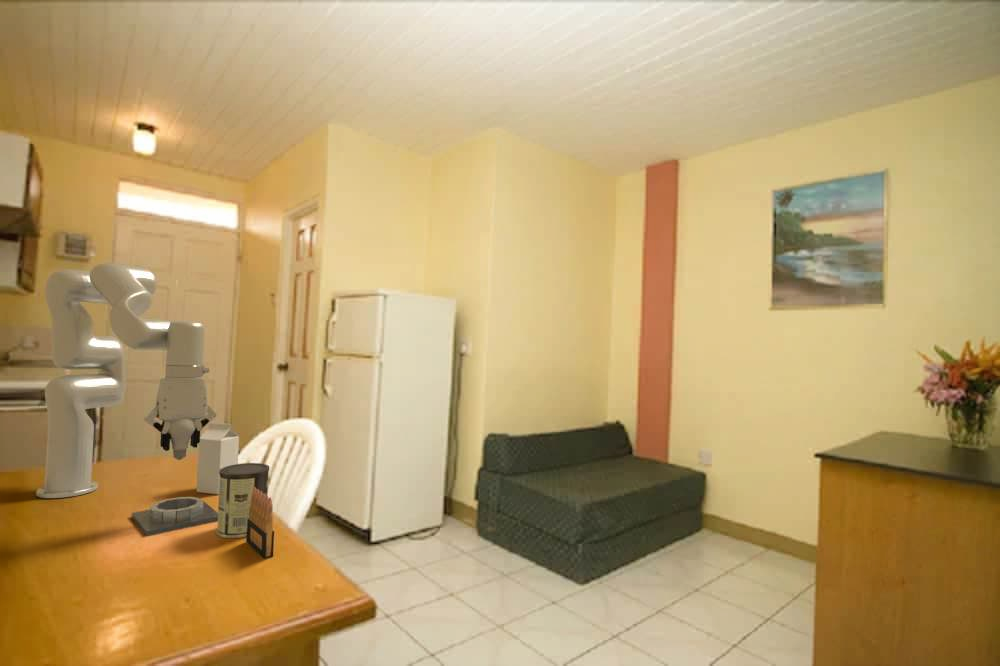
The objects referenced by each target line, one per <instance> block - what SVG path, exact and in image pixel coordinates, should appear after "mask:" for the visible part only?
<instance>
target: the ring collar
mask: <svg viewBox="0 0 1000 666" xmlns="http://www.w3.org/2000/svg"><path fill="white" fill-rule="evenodd" d="M131 519H132V520H133V522H135V524H136V525H137V526H138V528H139V530H141V531H142V533H143V534H144V536H145V537H148V536H154V535H158V534H163V533H168V532H172V531H177V530H182V529H185V528H191V527H195V526H196V527H197V526H201V525H204V524H205V525H206V524H210V523H214V522H218V511H216V509H214V508H213V507H211V506H210V505H209V504H208V503H206V502H205V501H204V500H203V499H201V497H196V496H195V497H194V496H179V497H172V498H166V499H163V500H160V501H157V502H154V503H153V504H152V505H150V506H149V509H146V510H141V511H136V512H132V513H131Z"/></svg>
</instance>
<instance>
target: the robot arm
mask: <svg viewBox="0 0 1000 666" xmlns="http://www.w3.org/2000/svg"><path fill="white" fill-rule="evenodd" d="M157 283H158V281H157V279H156V275H154V273H153V272H152V271H151V270H150V269H147V268H145V267H142V266H136V265H129V264H122V263H117V262H104V263H103V262H102V263H99V264H97V265H95V266H93V268H92V269H91V270H89V271H88V270H80V269H60V270H56V271H54V272H52V273H51V274H50V275H49V276H48V278H47V279H46V282H45V286H44V296H45V297H44V298H45V302H46V305H47V307H48V310H49V314H50V317H51V355H52V361H53V364H54V366H55V367H57V368H58V369H61V370H69V371H71V370H79V371H80V370H97V372H98V373H92V374H89V373H88V374H87V373H85V374H65V375H60V376H57V377H55V378H53V379H51V380H50V381H49V382H47V384H46V385H45V389H44V398H45V404H46V410H47V440H46V455H45V456H46V457H45V458H46V459H45V471H44V474H45V475H44V486H42V487H39V488H38V489H37V490H36V493H35V496H36V497H38V498H41V499H63V498H69V497H77V496H80V495H85V494H89V493H91V492H94V491H96V490H97V489H98V487H99V483H98V482H96V481H93V480H92V473H93V472H92V470H93V469H92V467H93V453H94V450H93V449H94V438H95V437H94V434H95V425H94V422H93V419H92V418H91V417H90V416H89V415H88V413H87V412H86V410H88V409H97V408H106V407H113V406H117V405H118V404H120V403H122V401H123V400H124V398H125V396H126V390H127V388H126V387H127V385H126V383H127V381H126V380H127V379H126V378H127V376H126V352H125V351H126V350H125V348H124V345H125V346H126V347H128V348H130V349H133V350H137V351H166V353H165V355H166V357H165V358H166V359H165V373H164V374H165V375H164V377H162V378H160V380H159V384H158V389H157V395H156V399H155V400H156V401H155V407H154V408H153V409H152V410H151V411H150V412H149V414H147V416H145V417H144V419H143V420H144V422H145V423H147V424H149V425H150V426H152V427H154V428H155V429H156V430H157V431H158V432H159V433H160V443H159V444H160V448H162V449H163V451H170V448H171V447H170V446H171V439H170V434H169V433H168V430H169V426H170V424H171V422H172V421H175V420H179V419H183V418H187V419H194V421H195V424H196V428H195V431H194V433H193V434H192V436H191V437H190V440H189V442H190V446H191V447H192V448H198V444H199V443H200V437H201V431H202V430H203V428H204V427H205V426H207V425H208V424H209V422H211V421H212V420H213V419H215V418H217V413H216V412H215V411H214V410H213V409H212V408H211V407H210V406H209V405H208V389H207V382H206V378H205V377H204V374H209V373H210V368H209V367H205V366H204V352H205V351H204V350H205V349H204V347H205V333H206V332H205V331H206V330H205V325H204V324H203V323H201V322H197V321H182V320H177V319H175V320H173V319H161V318H141V317H139V316H142V315H143V314H145V313H146V312H147V311H148V310H149V309H150V308H152V307H151V306H152V304H153V296H152V295H153V294H154V293H155V291H156V289H157V285H158V284H157ZM81 303H91V304H103V305H110V306H111V307H112V308H111V309H110V313H109V323H110V328H111V331H112V332H113V334H114V335H116V337H117V338H116V337H114V336H109V335H95V334H94V331H93V330H94V328H93V327H94V325H93V324H94V322H93V318H92V316H91V314H90V313H89V312H88V310H87V309H86V308H85V306H83V305H82V304H81ZM123 344H124V345H123ZM155 418H157V419H159V421H161V423H160V422H158V421H156V420H155Z"/></svg>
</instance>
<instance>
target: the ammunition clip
mask: <svg viewBox="0 0 1000 666" xmlns="http://www.w3.org/2000/svg"><path fill="white" fill-rule="evenodd" d="M273 507H274V506H273V500H272V497H269V496H268V495H266V496H265V493H263V494H262V491H260V492H259V489H257V490H256V487H254V489H253V491H252V496H251V505H250V511H249V519H248V522H247V537H245V538H246V539H245V542H247V543H248V544H249V545H248V544H247V543H246V544H247V545H248V546H250V548H252V549H253V551H255V553H257V554H258V555H259V556H260V557H261V558H262V559H267V558H272V557H274V548H275V547H274V546H275V545H274V544H275V541H274V540H275V530H273V529H274V515H273V513H274V512H273Z"/></svg>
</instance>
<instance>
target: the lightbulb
mask: <svg viewBox="0 0 1000 666" xmlns="http://www.w3.org/2000/svg"><path fill="white" fill-rule="evenodd" d="M195 428H196V424H195V421H194V419H187V418H183V419H179V420H175V421H172V422H171V424H170V426H169V430H168V433H169V434H170V443H171V448H172V453H173V458H174V459H175V460H177V461H181V460H183V459H184V458H186V457H187V449H188V448H189V442H190V441H191V436H192V434H193V433H194V431H195Z"/></svg>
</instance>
